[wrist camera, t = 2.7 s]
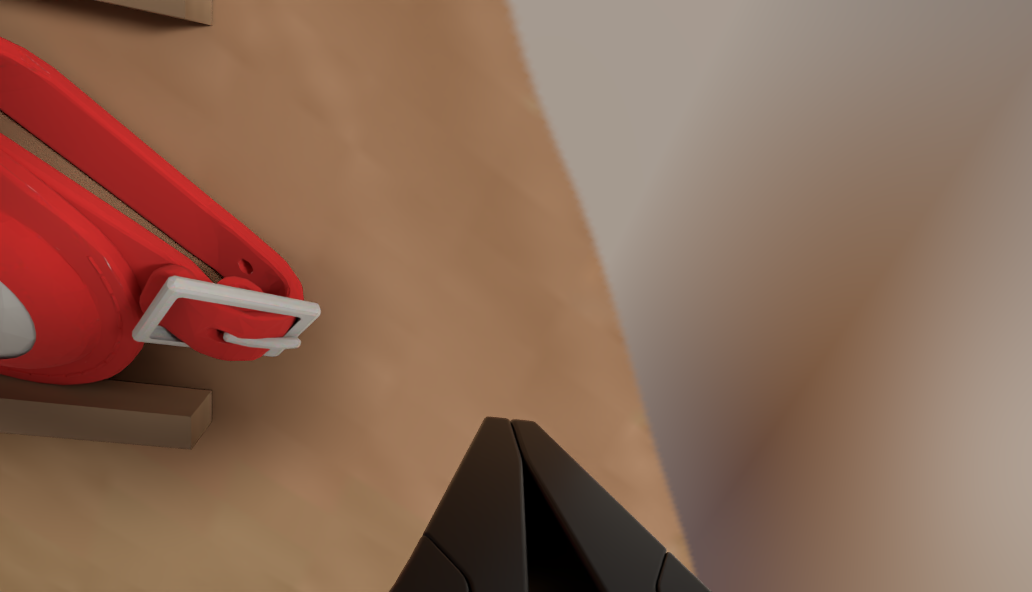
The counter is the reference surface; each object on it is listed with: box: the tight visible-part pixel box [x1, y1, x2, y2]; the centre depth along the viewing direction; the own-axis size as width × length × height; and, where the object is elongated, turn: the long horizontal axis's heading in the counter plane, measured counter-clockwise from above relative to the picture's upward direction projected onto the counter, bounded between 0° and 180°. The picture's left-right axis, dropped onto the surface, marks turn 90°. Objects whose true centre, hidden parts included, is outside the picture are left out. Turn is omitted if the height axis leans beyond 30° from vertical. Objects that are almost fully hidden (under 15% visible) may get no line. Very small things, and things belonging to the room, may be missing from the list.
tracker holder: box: [0, 37, 321, 385], centre depth 14 cm, size 12×4×10 cm
